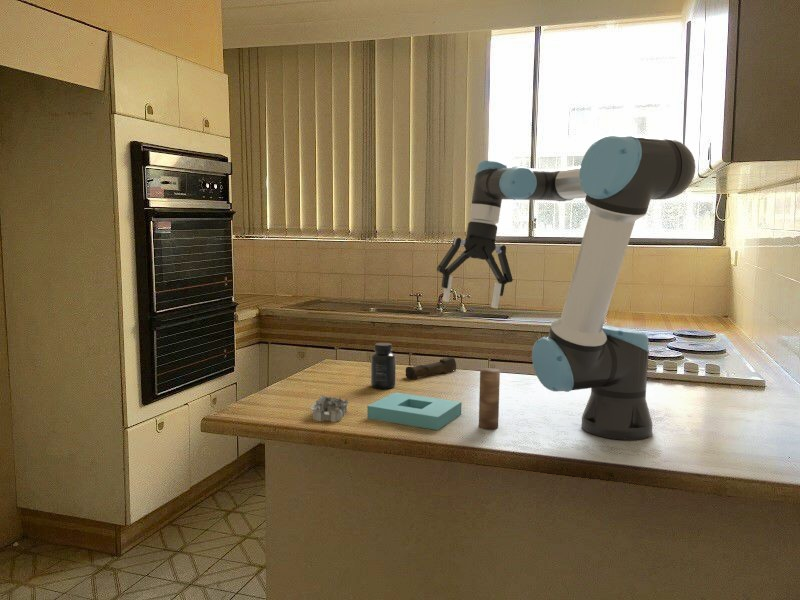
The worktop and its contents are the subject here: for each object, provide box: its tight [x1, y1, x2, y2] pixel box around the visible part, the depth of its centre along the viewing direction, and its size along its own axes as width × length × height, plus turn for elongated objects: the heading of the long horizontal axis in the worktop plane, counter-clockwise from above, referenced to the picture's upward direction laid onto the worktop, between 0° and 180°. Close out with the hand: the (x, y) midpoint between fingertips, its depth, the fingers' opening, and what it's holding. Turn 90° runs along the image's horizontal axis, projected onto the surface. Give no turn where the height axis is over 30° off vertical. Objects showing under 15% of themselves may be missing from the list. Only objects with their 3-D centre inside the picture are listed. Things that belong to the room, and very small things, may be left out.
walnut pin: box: [478, 367, 501, 431], centre depth 150 cm, size 4×4×13 cm
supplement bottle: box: [370, 342, 397, 390], centre depth 185 cm, size 7×7×12 cm
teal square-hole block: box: [366, 391, 463, 431], centre depth 158 cm, size 18×14×3 cm
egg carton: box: [310, 395, 349, 423], centre depth 158 cm, size 11×8×4 cm
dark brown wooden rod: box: [405, 357, 457, 380], centre depth 200 cm, size 19×4×5 cm, turn 126°
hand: (470, 304), depth 171 cm, fingers open, 13 cm apart
